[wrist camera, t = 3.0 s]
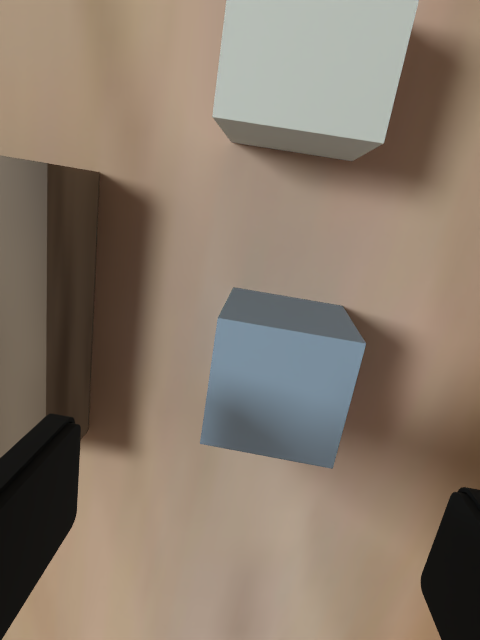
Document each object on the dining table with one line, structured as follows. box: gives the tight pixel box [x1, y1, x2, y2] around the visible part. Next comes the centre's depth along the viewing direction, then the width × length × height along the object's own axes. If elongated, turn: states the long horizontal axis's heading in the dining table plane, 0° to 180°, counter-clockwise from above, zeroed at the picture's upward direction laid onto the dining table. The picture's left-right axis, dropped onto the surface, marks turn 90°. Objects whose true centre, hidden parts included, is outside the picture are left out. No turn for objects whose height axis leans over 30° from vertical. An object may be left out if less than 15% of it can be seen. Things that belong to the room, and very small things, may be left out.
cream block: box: [212, 0, 419, 161], centre depth 13 cm, size 5×5×5 cm
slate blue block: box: [200, 287, 366, 469], centre depth 16 cm, size 5×5×5 cm
